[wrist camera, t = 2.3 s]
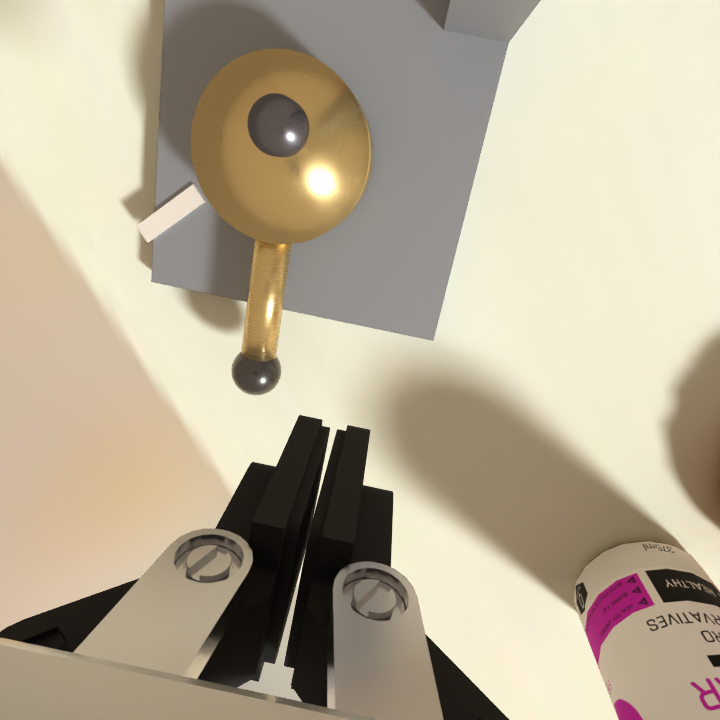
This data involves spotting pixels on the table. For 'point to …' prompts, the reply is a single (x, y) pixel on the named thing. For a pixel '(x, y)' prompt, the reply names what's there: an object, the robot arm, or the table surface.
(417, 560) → the table surface
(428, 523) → the table surface
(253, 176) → the gold pan with handle
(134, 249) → the table surface
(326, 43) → the stand
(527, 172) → the table surface
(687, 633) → the white soda can
